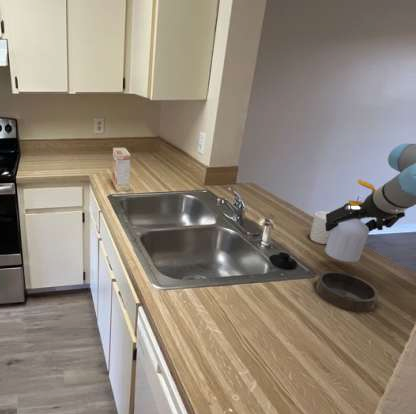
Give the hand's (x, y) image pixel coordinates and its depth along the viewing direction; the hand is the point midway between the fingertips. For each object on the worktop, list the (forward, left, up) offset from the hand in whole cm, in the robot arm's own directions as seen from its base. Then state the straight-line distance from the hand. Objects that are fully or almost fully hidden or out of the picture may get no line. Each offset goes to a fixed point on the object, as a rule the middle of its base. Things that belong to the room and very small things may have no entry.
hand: (344, 228), depth 105 cm
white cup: (+2, -16, -13) cm, 20 cm away
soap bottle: (-1, +3, -8) cm, 9 cm away
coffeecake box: (+91, -42, -13) cm, 101 cm away
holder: (+1, +19, -12) cm, 23 cm away
